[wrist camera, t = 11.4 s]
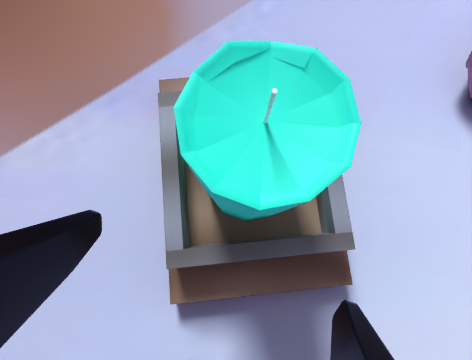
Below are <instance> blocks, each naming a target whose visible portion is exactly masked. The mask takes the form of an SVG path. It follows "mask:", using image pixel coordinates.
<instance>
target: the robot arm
mask: <svg viewBox="0 0 472 360" xmlns="http://www.w3.org/2000/svg"><path fill="white" fill-rule="evenodd" d="M101 232H102V216H101V214H100V213H98V212H96V211H93V210H87V211H83V212H80V213H76V214H72V215H69V216H65V217H62V218H58V219H55V220H51V221H47V222H44V223H40V224H37V225H33V226H29V227H26V228H22V229H19V230H15V231H11V232H8V233H4V234H1V235H0V348H1V347H2V346H3V345H4V344H5V343H6V342H7V341H8V339H9V338H10V337H11V336H12V335H13V334H14V333H15V332H16V331H17V330H18V329H19V328H20V327H21V326H22V325H23V324H24V322H25V321H26V320H27V319H28V318H29V317H30V316H31V315H32V314H33V313H34V312H35V311H36V310H37V309H38V308H39V306H40V305H41V304H42V303H43V302H44V301H45V300H46V299H47V298H48V297H49V296H50V295H51V294H52V293H53V292H54V290H55V289H56V288H57V287H58V286H59V285H60V284H61V283H62V282H63V281H64V280H65V279H66V278H67V277H68V276H69V274H70V273H71V272H72V271H73V270H74V269H75V267H76V266H77V265H78V264H79V262H80V261H81V260H82V259H83V257H84V256H85V255H86V253H87V252H88V251H89V249H90V248H91V247H92V246H93V244H94V243H95V242H96V240H97V239H98V238H99V236H100V235H101ZM330 360H394V358H393V357H392V355H391V354H390V352H389V351H388V349H387V348H386V346H385V345H384V343H383V342H382V340H381V339H380V337H379V336H378V334H377V333H376V331H375V330H374V328H373V327H372V325H371V324H370V322H369V321H368V320H367V318H366V317H365V315H364V314H363V312H362V311H361V309H360V308H359V306H358V305H357V304H356V303H353V302H350V301H347V300H344V301H342V303H341V304H340V306H339V307H338V309H337V311H336V312H335V314H334V316H333V320H332V336H331V357H330Z"/></svg>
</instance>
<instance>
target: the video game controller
mask: <svg viewBox="0 0 472 360" xmlns="http://www.w3.org/2000/svg"><path fill="white" fill-rule="evenodd" d="M466 68H467V69H468V87H469V92H470V96H471V99H472V52H471V53H470V55H469V57H468V60H467V62H466Z"/></svg>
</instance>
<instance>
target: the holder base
mask: <svg viewBox="0 0 472 360" xmlns="http://www.w3.org/2000/svg"><path fill="white" fill-rule="evenodd" d="M188 80H189V78H178V79H166V80H159V88H160V93H158V103H159V123H160V143H161V163H162V183H163V204H164V224H165V244H166V264H167V269H169V284H170V304H179V303H188V302H197V301H206V300H216V299H225V298H234V297H243V296H252V295H261V294H270V293H279V292H289V291H298V290H307V289H316V288H325V287H334V286H343V285H352V279H351V273H350V268H349V262H348V256H347V250H353V249H355V245H354V239H353V234H352V228H351V222H350V217H349V211H348V206H347V200H346V194H345V189H344V183H343V177H342V175H341V176H339V177H338V178H337V179H336V180H335V181H333V182H332V183H331V184H330V185H329V186H328V187H326V188H325V189H324V190H323V191H322V192H320V193H319V194H318V195H317V196H316V197H315V198H313V199H312V200H311V201H309V202H306V203H304V204H301V205H298V206H296V207H293V208H290V209H288V210H285V211H282V212H280V213H277V214H274V215H272V216H269V217H265V218H260V219H254V220H248V221H243V220H241V219H238V218H235V217H233V216H230V215H227V214H224V213H223V212H222V210H221V209H220V208H219V207H218V206H217V204H216V203H215V202H214V201H213V200H212V198H211V197H210V196H209V194H208V193H207V192H206V190H205V189H204V187H203V186H202V184H201V183H200V181H199V180H198V179H197V177H196V176H195V174H194V173H193V171H192V170H191V169H190V167H189V166H188V164H187V163H186V161H185V160H184V158H183V157H182V156H181V153H180V146H179V140H178V133H177V127H176V120H175V114H174V105H175V104H176V102H177V100H178V98H179V96H180V94H181V93H182V91H183V89H184V87H185V85H186V84H187V82H188Z"/></svg>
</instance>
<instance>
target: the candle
mask: <svg viewBox="0 0 472 360" xmlns="http://www.w3.org/2000/svg"><path fill="white" fill-rule="evenodd" d="M174 114H175V120H176V127H177V133H178V140H179V146H180V153H181V156H182V157H183V158H184V160H185V161H186V163H187V164H188V166H189V167H190V169H191V170H192V171H193V173H194V174H195V176H196V177H197V179H198V180H199V181H200V183H201V184H202V186H203V187H204V189H205V190H206V192H207V193H208V194H209V196H210V197H211V198H212V200H213V201H214V202H215V203H216V204H217V206H218V207H219V208H220V209H221V210H222V212H223V213H224V214H227V215H230V216H233V217H235V218H238V219H241V220H243V221H248V220H254V219H260V218H265V217H269V216H272V215H274V214H277V213H280V212H282V211H285V210H288V209H290V208H293V207H296V206H298V205H301V204H304V203H306V202H309V201H311V200H312V199H313V198H315V197H316V196H317V195H318V194H319V193H320V192H322V191H323V190H324V189H325V188H326V187H328V186H329V185H330V184H331V183H332V182H333V181H335V180H336V179H337V178H338V177H339V176H341V175H342V174H343V173H344V172H345V171H346V170H348V169H349V168H350V167H351V163H352V159H353V155H354V151H355V146H356V142H357V138H358V134H359V130H360V126H361V122H360V118H359V114H358V110H357V106H356V102H355V98H354V94H353V90H352V86H351V82H350V79H349V78H348V77H347V76H346V75H345V74H344V73H343V72H342V71H341V70H339V69H338V68H337V67H336V66H335V65H334V64H333V63H332V62H331V61H330V60H329V59H328V58H327V57H325V56H324V55H323V54H322V53H321V52H320V51H319V50H318V49H317V48H313V47H307V46H300V45H294V44H288V43H282V42H275V41H227V42H226V43H225V44H224V45H223V46H221V47H220V48H219V49H218V50H217V51H216V52H215V53H214V54H212V55H211V56H210V57H209V58H208V59H207V60H206V61H205V62H203V63H202V64H201V65H200V66H199V67H198V68H197V69H196V70H194V71H193V73H192V75H191V76H190V78H189V80H188V82H187V84H186V85H185V87H184V89H183V91H182V93H181V94H180V96H179V98H178V100H177V102H176V104H175V105H174Z"/></svg>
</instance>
